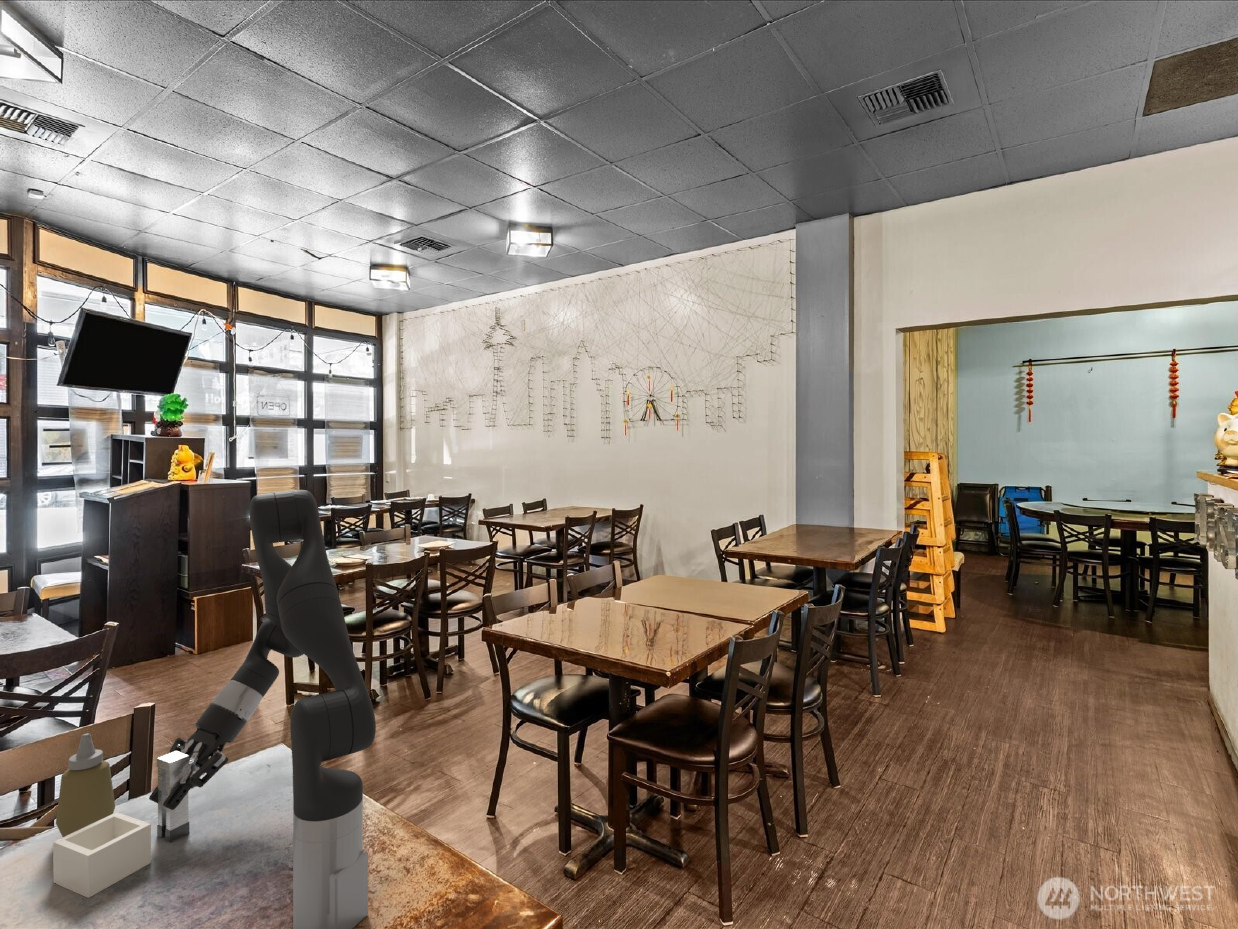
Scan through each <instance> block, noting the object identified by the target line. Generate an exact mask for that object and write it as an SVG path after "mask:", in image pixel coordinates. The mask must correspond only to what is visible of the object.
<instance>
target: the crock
mask: <svg viewBox="0 0 1238 929" xmlns="http://www.w3.org/2000/svg"><path fill="white" fill-rule="evenodd" d="M52 843H53V844H52V847H53V848H52V850H53V852H52V853H53V854H52V855H53V858H52V859H53V862H52V863H53V864H52V865H53V866H52V867H53V869H52V870H53V876H52V877H53V883H54V884H55V883H56V884H55V885H58V886H60V887H62V888H64V889H67V890H69V891H71V892H74V893H76V894H78V895H81V896H83V897H85V898H88V899H89V898H91V897H92V896H95V895H96V894H98V893H100V892H101V891H103V890H105V889H107V888H109V887H111V886H113V885H114V884H116V883H118V882H119V881H121V880H123V879H125V878H126V877H128V876H130V875H132V874H134V873H135V872H137V871H139V870H141V869H143V868H144V867H146V866H147V865H149V864H151V863H152V824H151V823H149V822H147V821H143V820H141V819H138V818H135V817H132V816H129V815H126V814H123V813H120V812H118V811H117V812H115V813H114V812H113V814H112V815H110V816H107V817H105V818H103V819H101V820H99V821H97V822H95V823H93V824H90V825H88V826H86V827H84V828H82V829H80V830H78V831H76V832H73V833H71V834H69V835H67V836H65V837H62V838H59V839H56V840H54V841H53V842H52Z"/></svg>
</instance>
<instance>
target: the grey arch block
mask: <svg viewBox="0 0 1238 929" xmlns="http://www.w3.org/2000/svg"><path fill="white" fill-rule="evenodd" d="M168 753H169V752H168ZM168 753H166V754H164V755H161V756H158V757H157V758H156V767H157V785H158V803H157V826H156V831H157V832H156V837H157V838H160V839H163V838H165V839H164V840H165V841H166V842H167V843H173V842H174V841H176V840H179V839H180V838H182V837H184V836H186V835H188V834H190V821H189V792H188V793H187V794H186V796H185V797H184V798H183V800H182V801H181V802H180V804H179V805H178V806H177V807H176V808H175V809H174V810H171V809H169V808H166V807H164V806H163V803H164V802H165V800H166V799H167V798H168V796H169V795H170V794H171V792H172V791H173V790H174V788H175V787H176V786H177V784H181V783H180V781H181V779H182V777H183V776H184V774H185V773H186V771H187V766H188V764H189V755H186V754H184V753H181V752H179V751H174V752H171V753H169V754H168Z"/></svg>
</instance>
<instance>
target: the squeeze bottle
mask: <svg viewBox="0 0 1238 929" xmlns="http://www.w3.org/2000/svg"><path fill="white" fill-rule="evenodd" d="M114 794H115V793H114V787H113V779H112V772H111V766H110V763H109V762H108V761H106V760H104V751H103V750H102V749H98V748H97V749H96V748H95V746H94V742H93V739H92V735H91V733H84V734H82V735H81V737H80V741H79V745H78V748H77V751H76V754H73V755H71V756H70V757H69V759H68V768H67V769H66V770H65V771H64V772H63V773H62V774H61V779H60V787H59V793H58V795H59V796H58V802H57V811H56V817H55V818H56V819H55V824H56V827H57V828H58V831H59V832H60V834H61V837H62V838H63V837H65V836H67V835H69V834H71V833H73V832H76V831H78V830H80V829H82V828H84V827H86V826H88V825H90V824H93V823H95V822H97V821H99V820H101V819H103V818H105V817H107V816H110V815H112V814H114V811H115V809H116V802H115V801H116V800H115V795H114Z"/></svg>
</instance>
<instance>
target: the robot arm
mask: <svg viewBox="0 0 1238 929" xmlns="http://www.w3.org/2000/svg"><path fill="white" fill-rule="evenodd" d="M249 503H250V504H249V512H248V513H249V524H250V531H251V537H252V541H253V547H254V551H255V555H256V560H257V563H258V564H257V565H258V567H259V572H260V575H261V580H262V584H263V592H264V593H263V596H264V597H263V598H264V611H265V615H266V619H265V620H264V621H263V622H262V623H261V625H260V626H259V628H258V630H257V633H256V635H255V637H254V640H253V643H252V644H251V647H250V649H249V651H248V653H247V655H246V657H245V659H244V661H243V663H242V664H241V666H240V667H239V668H238V669H237V671H236V672H235V673H234V675H233V676H232V677H231V679H230V680H229V681H228V683H226V684H225V685H224V686H223V688H221V690H220V691H219V692H218V693H217V695H216V696H215V697H214V698H213V700H212V701H211V702H210V704H209V705H208V706H207V708H206V709H205V710H204V711H203V713H202V714H201V716H200V717H198V719H197V721H196V722H195V723H194V727H195V728H196V731H194V733H193V734H191V736H189V737H188V738H187V739H182V738H180V737H178V738H176V739H175V740H174V742H173V744H172V746H171V748H170V749H169V752H168V753H167V754H169V753H171V752H174V751H179V752H181V753H184V754H186V755H189V764H188V766H187V771H186V773H185V774H184V776H183V777H182V779H181V781H180V783H181V784H177V786H176V787H175V788H174V790H173V791H172V792H171V794H170V795H169V796H168V798H167V799H166V800H165V802H164V803H163V806H164V807H166V808H169V809H171V810H174V809H175V808H176V807H177V806H178V805H179V804H180V802H181V801H182V800H183V798H184V797H185V796H186V794H187V793H188V794H189V791H190V790H192V789H194V788H196V787H198V788H199V789H201V788H202V787H203V786H204V785H206V784H207V783H208V782H209V780H211V779H212V777H214V776H215V775H216V774H217V773H218V772H219V771H220V770H221V769H222V768H223V767H224V766H225V765H226V763H227V762H228V761H229V757H227V756H226V755H225V754H224V753H223V751H224V749H225V746H226V744H231V743H233V742H234V741H235V740H236V739H237V737H238V736H239V734H240V733H241V731H242V730H243V729H244V727H245V725H246V724H247V723H248V721H249V720H250V718H251V717H253V715H254V713H255V712H256V710H257V709H258V707H259V705H260V703H261V702H262V700H263V698H264V697H265V696H266V694H267V693H268V691H269V690H270V688H271V687H272V686H273V684H274V683H275V682H276V680H277V679H278V677H279V675H280V669H279V668H278V667H277V665H275V664H274V663H273V662H272V661H270V660H269V659H268V656H269V654H270V652H271V651H273V652H277V653H278V654H281V655H283V656H286V657H288V658H299V657H301V656H306V657H307V658H309V660H311V661H312V662H314V663H315V664H316V665H317V666H319V668H321V670H323V671H324V673H325V674H326V675H327V676H328V678H329V680H330V681H331V683H332V684H333V686H334V689H335V690H333V691H328V692H324V693H320V694H314V695H311V696H307V697H303V698H299V699H298V700H297V701H296V702H295V703H294V705H293V707H292V709H291V715H290V720H289V721H290V722H289V723H290V724H289V725H290V726H289V727H290V728H289V729H290V731H289V732H290V743H291V744H290V747H291V762H292V764H291V765H292V795H293V797H292V799H293V801H292V802H293V803H292V806H293V807H292V808H293V809H292V810H293V815H292V816H293V820H292V821H293V823H292V825H293V828H292V829H293V833H292V838H293V839H292V840H293V841H292V842H293V843H292V846H293V847H292V850H293V851H292V852H293V853H292V854H293V855H292V857H293V859H292V866H293V867H292V868H293V869H292V877H293V878H292V887H293V888H292V906H293V909H292V912H293V913H292V923H293V924H292V925H293V926H292V929H354V928H355V927H356V926H357V925H358V924H359V923H360V922H361V921H363V920H364V919H365V918H366V917H367V916H368V915H369V853H368V851H367V850H364V849H363V846H364V845H363V842H364V841H363V839H364V837H363V836H364V835H363V834H364V833H363V832H364V830H363V826H364V823H363V820H364V818H363V817H364V814H363V812H364V809H363V808H364V799H363V798H364V784H363V780H362V777H361V776H360V775H359V774H358V773H357V772H354V771H352V770H348V769H343V768H342V769H341V768H329V767H324V766H321V764H322V763H324V762H327V761H330V760H334V759H338V758H342V757H344V756H345V757H346V756H348V755H353V754H356V753H359V752H362V751H364V750H366V749H369V748H370V747H371V746H372V744H373V742H374V741H375V737H376V732H377V725H376V724H377V723H376V715H375V711H374V706H373V701H372V699H371V697H370V694H369V691H368V687H367V685H366V682H365V679H364V677H363V675H362V672H361V669H360V666H359V664H358V661H357V658H356V656H355V653H354V650H353V646H352V643H351V640H350V636H349V632H348V626H347V624H346V619H345V615H344V610H343V609H344V608H343V605H342V601H341V597H340V594H339V590H338V588H337V584H336V581H335V578H334V575H333V572H332V568H331V565H330V561H329V558H328V555H327V549H326V544H325V539H324V534H323V528H322V523H321V522H322V521H321V518H320V511H319V508H318V503H317V501H316V498H315V496H314V495H313V493H312V492H311V491H309V490H306V489H305V490H304V489H294V490H285V491H275V492H267V493H261V494H257V495H254V496H253V497H252V498H251V500H250V502H249ZM297 540H303V541H302V545H301V548H300V549H299V550H300V551H299V553H298V555H297V557H296V559H295V561H294V562H293V564H292V565H291V564H290V563H289V562H288V561H286V559H284V558H283V557H282V556H281V555H280V553H278V551H277V550H276V548H275V546H274V544H275V543H276V544H278V543H283V542H284V543H285V542H291V541H297ZM202 776H203V777H202ZM201 777H202V778H201ZM148 799H149V801H152V802H154V803H156V804H158V784H157V785H156V787H155V788H154V789H153V791H152V792H151V794H150V796H149V797H148Z"/></svg>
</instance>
